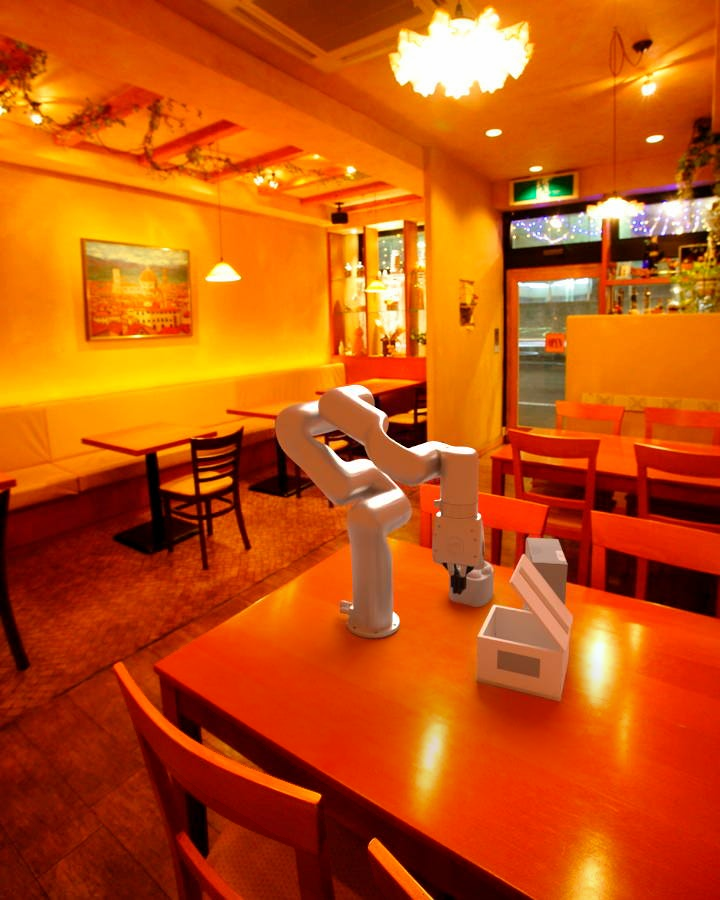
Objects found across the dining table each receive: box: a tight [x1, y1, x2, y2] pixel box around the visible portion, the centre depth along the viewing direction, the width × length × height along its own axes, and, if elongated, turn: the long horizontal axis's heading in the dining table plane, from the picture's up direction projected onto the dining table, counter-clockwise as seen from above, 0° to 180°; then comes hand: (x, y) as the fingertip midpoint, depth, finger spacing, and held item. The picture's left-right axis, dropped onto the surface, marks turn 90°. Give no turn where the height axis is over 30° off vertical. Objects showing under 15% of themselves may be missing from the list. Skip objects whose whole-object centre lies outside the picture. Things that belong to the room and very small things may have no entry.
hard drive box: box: [522, 537, 569, 611], centre depth 131 cm, size 16×8×20 cm, turn 168°
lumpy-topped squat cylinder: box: [448, 560, 495, 608], centre depth 150 cm, size 10×13×9 cm
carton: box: [476, 604, 571, 702], centre depth 116 cm, size 16×14×10 cm
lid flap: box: [509, 553, 574, 653], centre depth 113 cm, size 16×14×1 cm
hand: (458, 591), depth 120 cm, fingers closed
